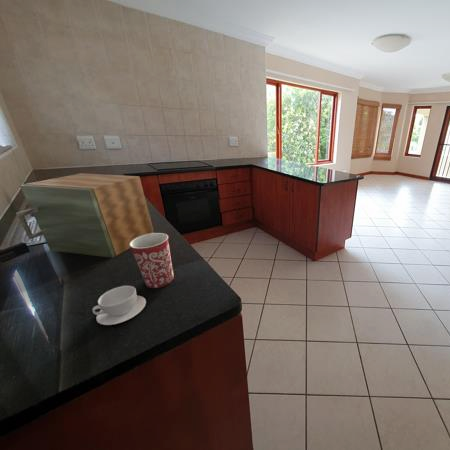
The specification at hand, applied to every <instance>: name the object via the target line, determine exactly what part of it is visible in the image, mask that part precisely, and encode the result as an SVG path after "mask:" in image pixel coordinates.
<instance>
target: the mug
mask: <svg viewBox="0 0 450 450" xmlns="http://www.w3.org/2000/svg"><path fill="white" fill-rule="evenodd" d="M129 245H130V247H131V248H130V249H131V251H132V254H133V255H134V256H133V257H134V258H135V261H136V263H137V266H138V268H139V271H140V274H141V276H142V279H143V281H144V284H145V286H146V287H147V288H150V289H160V288H163V287H166V286H167V285H169V284H170V283H171V282H173V280H174V278H175V275H174V267H173V262H172V257H171V250H170V244H169V235H168V234H167V233H163V232H154V233H151V234H146V235H142V236H140V237H137V238H135V239H134V240H132V241H131V242H130V244H129Z"/></svg>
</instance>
